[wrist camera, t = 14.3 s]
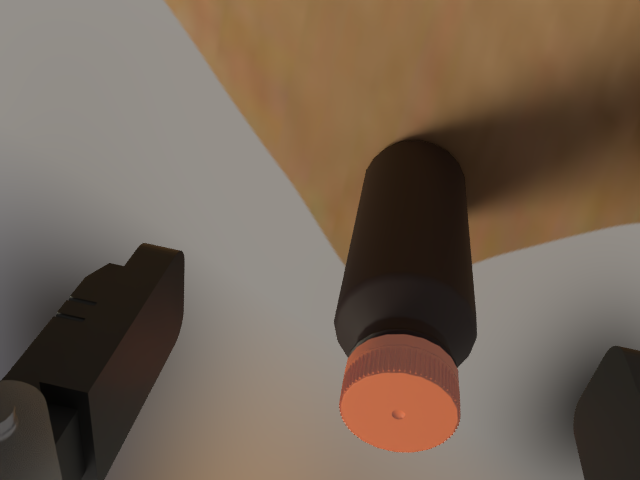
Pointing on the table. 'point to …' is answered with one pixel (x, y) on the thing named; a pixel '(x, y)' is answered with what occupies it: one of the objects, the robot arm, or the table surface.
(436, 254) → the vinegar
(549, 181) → the table surface
